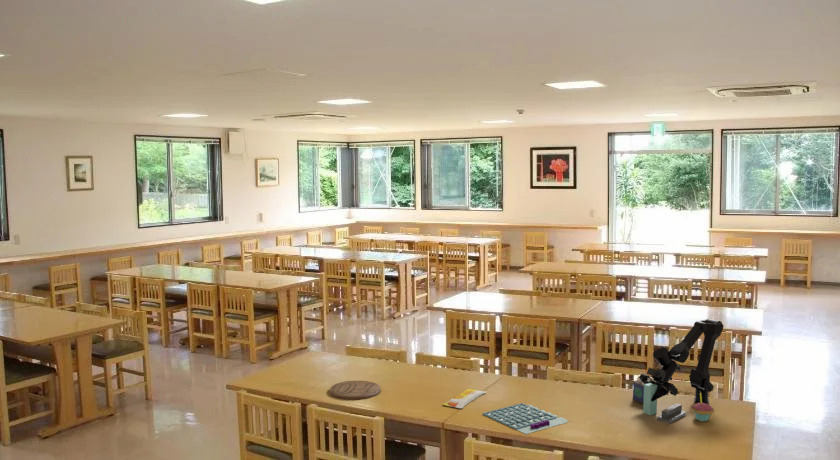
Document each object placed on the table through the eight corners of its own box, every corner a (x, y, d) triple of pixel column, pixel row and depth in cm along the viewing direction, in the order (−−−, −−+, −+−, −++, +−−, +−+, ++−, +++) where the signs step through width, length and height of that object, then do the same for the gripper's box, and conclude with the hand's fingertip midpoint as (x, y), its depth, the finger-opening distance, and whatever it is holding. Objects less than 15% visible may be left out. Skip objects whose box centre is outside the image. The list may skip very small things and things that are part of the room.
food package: (468, 386, 349) (486, 389, 344) (468, 390, 349) (486, 394, 344) (441, 402, 325) (461, 406, 320) (441, 407, 326) (461, 411, 321)
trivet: (384, 384, 358) (384, 381, 358) (376, 401, 333) (376, 397, 333) (335, 383, 360) (335, 379, 360) (324, 399, 335) (324, 395, 335)
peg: (649, 411, 319) (650, 383, 317) (656, 413, 315) (657, 385, 314) (643, 412, 317) (644, 384, 316) (649, 415, 313) (650, 386, 312)
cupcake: (687, 417, 311) (688, 390, 310) (703, 414, 314) (704, 388, 313) (701, 423, 303) (702, 396, 302) (717, 421, 306) (718, 394, 305)
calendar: (527, 404, 330) (527, 399, 329) (571, 422, 306) (572, 417, 306) (482, 416, 314) (482, 411, 314) (526, 435, 291) (526, 430, 291)
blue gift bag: (649, 404, 328) (650, 381, 327) (644, 405, 327) (645, 382, 326) (635, 398, 336) (636, 376, 335) (630, 399, 335) (631, 377, 334)
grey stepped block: (673, 411, 318) (673, 402, 317) (685, 415, 313) (686, 405, 313) (656, 420, 307) (657, 410, 307) (669, 423, 303) (670, 413, 303)
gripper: (642, 356, 324) (623, 383, 320) (674, 366, 307) (654, 394, 303) (654, 370, 328) (636, 397, 324) (686, 381, 312) (667, 409, 308)
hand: (648, 399), depth 315 cm, fingers closed on peg, 4 cm apart
